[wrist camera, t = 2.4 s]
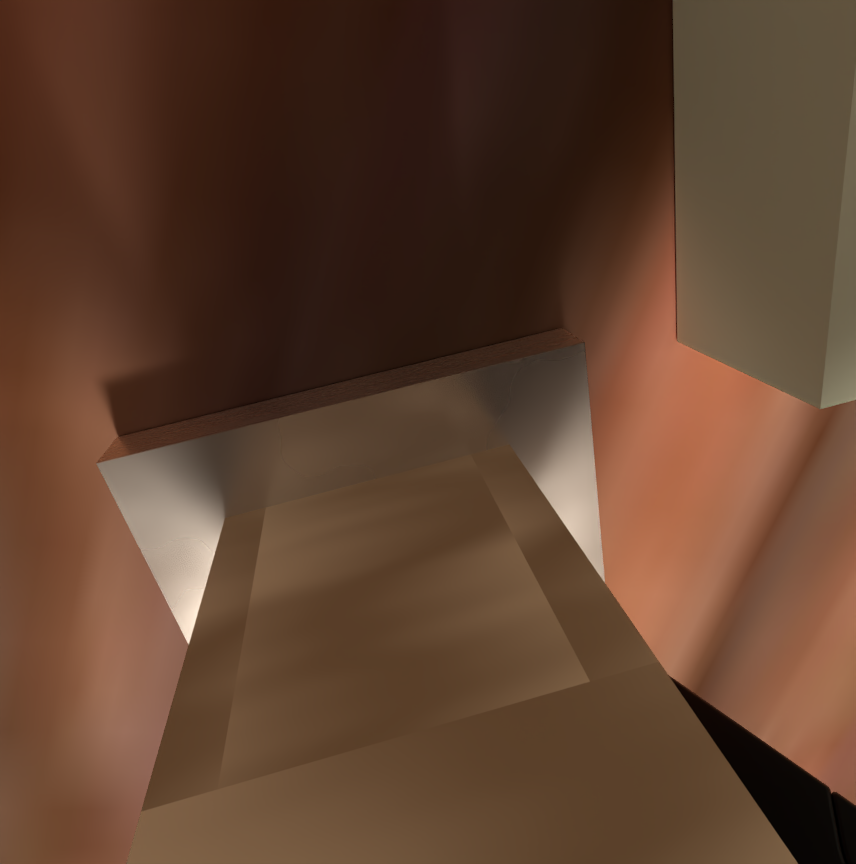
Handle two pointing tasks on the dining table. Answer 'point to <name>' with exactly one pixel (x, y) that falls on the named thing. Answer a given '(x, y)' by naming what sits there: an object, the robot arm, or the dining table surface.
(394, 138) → the dining table surface
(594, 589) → the tan rectangular block
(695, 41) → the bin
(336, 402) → the stud block
